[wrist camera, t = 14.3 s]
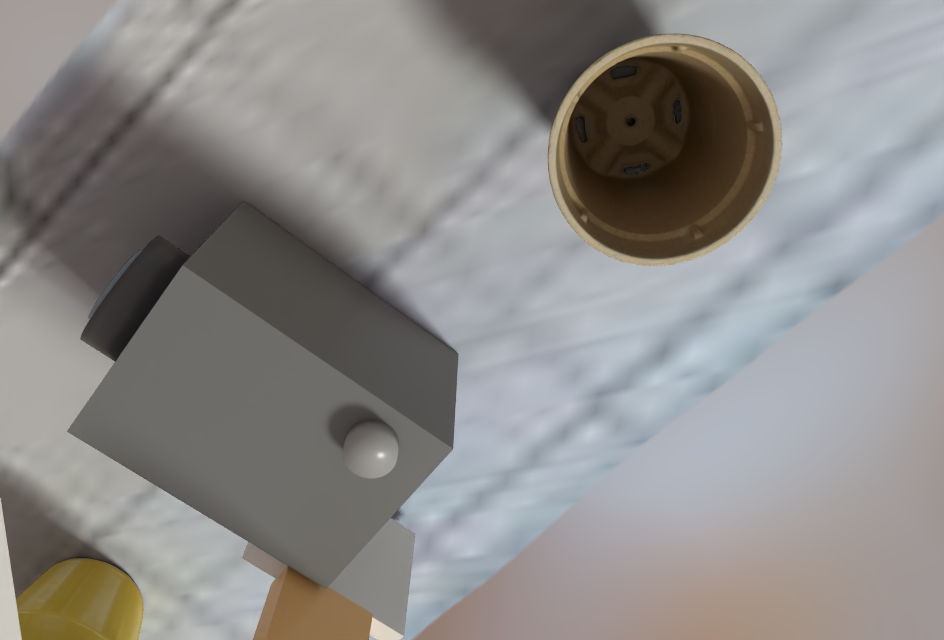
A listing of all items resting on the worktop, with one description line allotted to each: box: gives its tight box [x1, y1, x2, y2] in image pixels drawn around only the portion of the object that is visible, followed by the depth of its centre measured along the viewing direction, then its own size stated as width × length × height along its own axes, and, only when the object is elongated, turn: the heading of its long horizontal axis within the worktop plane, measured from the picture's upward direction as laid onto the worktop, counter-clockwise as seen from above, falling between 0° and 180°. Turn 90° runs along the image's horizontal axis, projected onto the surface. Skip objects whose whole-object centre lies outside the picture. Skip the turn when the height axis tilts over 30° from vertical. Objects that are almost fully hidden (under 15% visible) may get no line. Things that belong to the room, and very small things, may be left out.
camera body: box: [67, 201, 458, 589], centre depth 43 cm, size 16×10×11 cm, turn 52°
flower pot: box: [548, 34, 782, 266], centre depth 39 cm, size 9×9×9 cm
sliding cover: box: [242, 518, 415, 640], centre depth 42 cm, size 9×2×18 cm, turn 52°
